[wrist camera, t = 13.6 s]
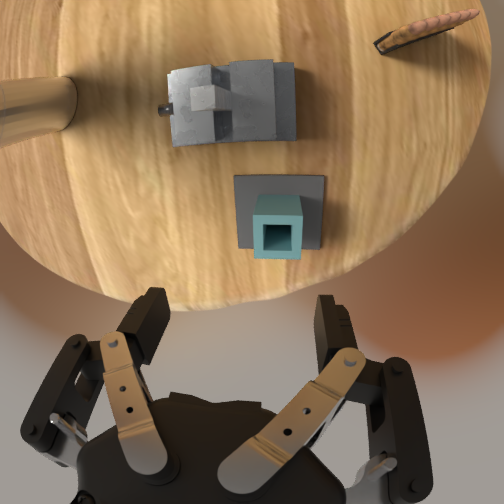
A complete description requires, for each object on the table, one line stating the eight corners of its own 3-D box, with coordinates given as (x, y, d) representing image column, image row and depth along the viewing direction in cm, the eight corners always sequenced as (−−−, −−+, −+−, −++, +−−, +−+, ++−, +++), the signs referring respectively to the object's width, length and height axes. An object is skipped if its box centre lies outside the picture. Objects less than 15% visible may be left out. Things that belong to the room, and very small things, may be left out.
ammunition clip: (429, 23, 19) (478, 2, 8) (436, 34, 19) (488, 18, 9) (372, 43, 22) (413, 15, 12) (380, 55, 23) (425, 33, 12)
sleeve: (259, 231, 36) (254, 258, 29) (258, 194, 33) (252, 214, 27) (297, 232, 35) (300, 259, 29) (299, 195, 33) (303, 215, 26)
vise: (180, 144, 31) (124, 165, 20) (175, 77, 27) (115, 64, 15) (295, 138, 30) (303, 154, 18) (292, 67, 25) (299, 36, 14)
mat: (239, 246, 38) (238, 248, 37) (234, 175, 33) (233, 176, 32) (319, 247, 36) (319, 249, 36) (323, 175, 32) (324, 176, 31)
